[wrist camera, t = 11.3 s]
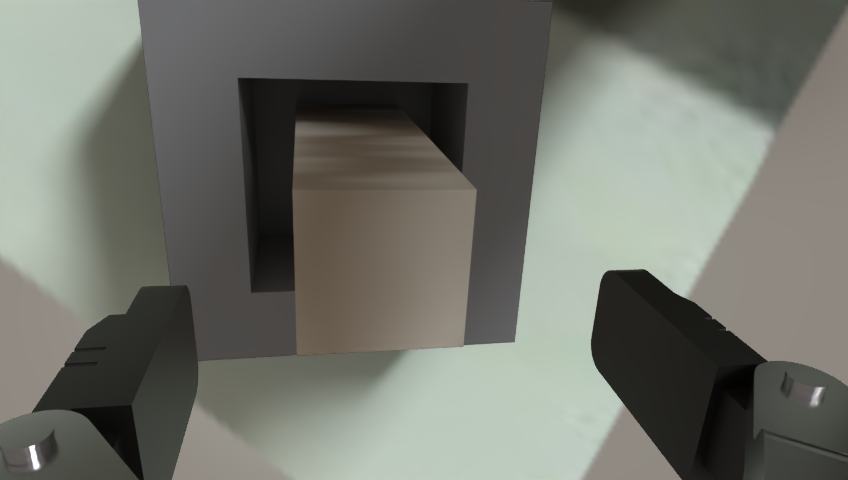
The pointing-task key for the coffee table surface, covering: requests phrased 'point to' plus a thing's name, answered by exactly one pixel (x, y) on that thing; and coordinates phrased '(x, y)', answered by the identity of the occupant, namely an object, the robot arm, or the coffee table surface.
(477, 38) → the well block
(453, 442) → the coffee table surface
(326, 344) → the wooden peg
